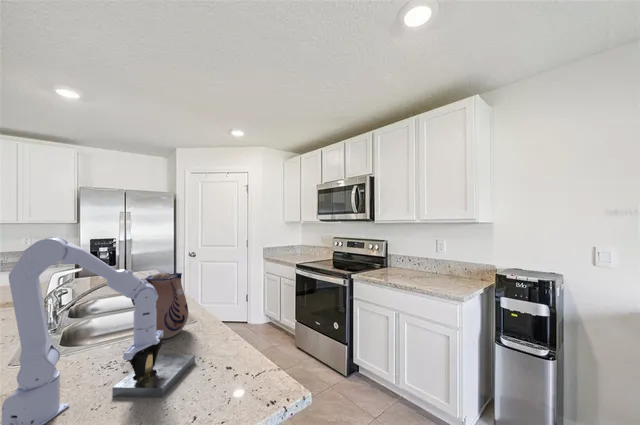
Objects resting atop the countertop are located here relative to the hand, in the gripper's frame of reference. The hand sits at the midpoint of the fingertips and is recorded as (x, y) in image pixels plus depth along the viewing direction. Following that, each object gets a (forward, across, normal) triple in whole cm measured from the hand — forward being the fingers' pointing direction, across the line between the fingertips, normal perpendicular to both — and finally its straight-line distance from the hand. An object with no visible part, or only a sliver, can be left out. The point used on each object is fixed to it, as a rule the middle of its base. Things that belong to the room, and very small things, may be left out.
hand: (145, 371), depth 81 cm
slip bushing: (+2, 0, 0) cm, 2 cm away
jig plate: (+3, +3, -2) cm, 5 cm away
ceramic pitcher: (+4, +31, +15) cm, 35 cm away
